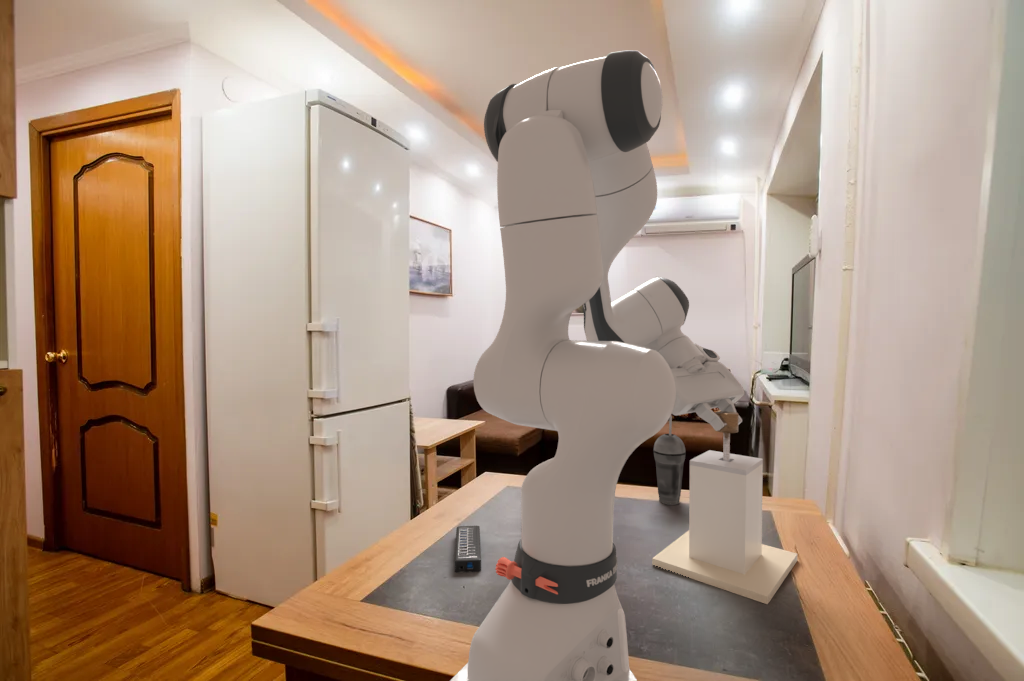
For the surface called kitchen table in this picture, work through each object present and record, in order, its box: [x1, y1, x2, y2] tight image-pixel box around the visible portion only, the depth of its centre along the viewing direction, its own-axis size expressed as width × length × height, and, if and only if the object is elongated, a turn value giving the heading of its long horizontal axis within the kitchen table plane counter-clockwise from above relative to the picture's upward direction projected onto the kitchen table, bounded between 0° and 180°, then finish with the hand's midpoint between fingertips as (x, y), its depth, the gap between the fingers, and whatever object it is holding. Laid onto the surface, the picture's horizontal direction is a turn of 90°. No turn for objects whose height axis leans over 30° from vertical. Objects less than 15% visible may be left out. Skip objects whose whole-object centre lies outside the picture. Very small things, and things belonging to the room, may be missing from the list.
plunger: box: [714, 410, 739, 462], centre depth 85 cm, size 7×7×18 cm
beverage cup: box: [652, 415, 687, 506], centre depth 115 cm, size 7×7×20 cm
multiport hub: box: [453, 525, 482, 574], centre depth 90 cm, size 4×14×2 cm, turn 5°
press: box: [651, 449, 799, 605], centre depth 85 cm, size 18×18×18 cm
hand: (730, 426), depth 84 cm, fingers closed on plunger, 4 cm apart
